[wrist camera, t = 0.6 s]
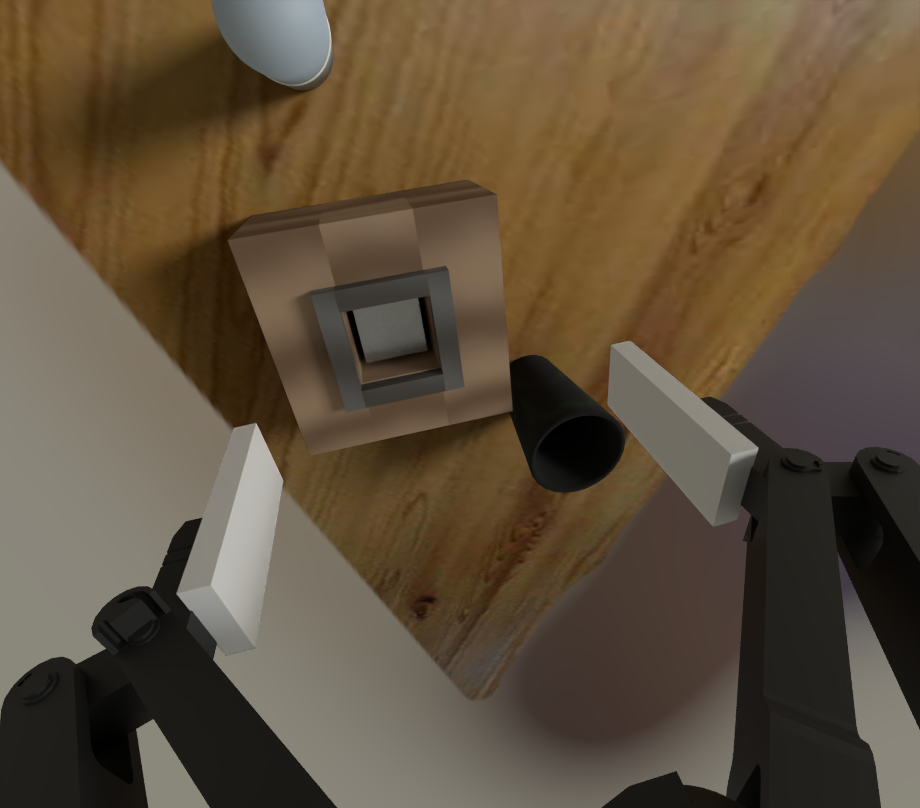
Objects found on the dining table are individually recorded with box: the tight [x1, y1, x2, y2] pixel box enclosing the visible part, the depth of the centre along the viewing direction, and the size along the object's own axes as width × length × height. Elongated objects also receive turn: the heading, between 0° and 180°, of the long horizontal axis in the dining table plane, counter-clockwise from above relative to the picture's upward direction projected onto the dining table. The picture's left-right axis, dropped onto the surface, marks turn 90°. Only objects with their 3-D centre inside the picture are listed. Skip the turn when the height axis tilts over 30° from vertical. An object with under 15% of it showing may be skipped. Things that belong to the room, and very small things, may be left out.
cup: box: [509, 355, 625, 493], centre depth 40 cm, size 8×8×12 cm
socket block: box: [228, 180, 513, 456], centre depth 35 cm, size 16×16×9 cm
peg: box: [212, 0, 333, 91], centre depth 24 cm, size 4×4×12 cm
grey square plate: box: [353, 298, 427, 363], centre depth 34 cm, size 5×5×1 cm
